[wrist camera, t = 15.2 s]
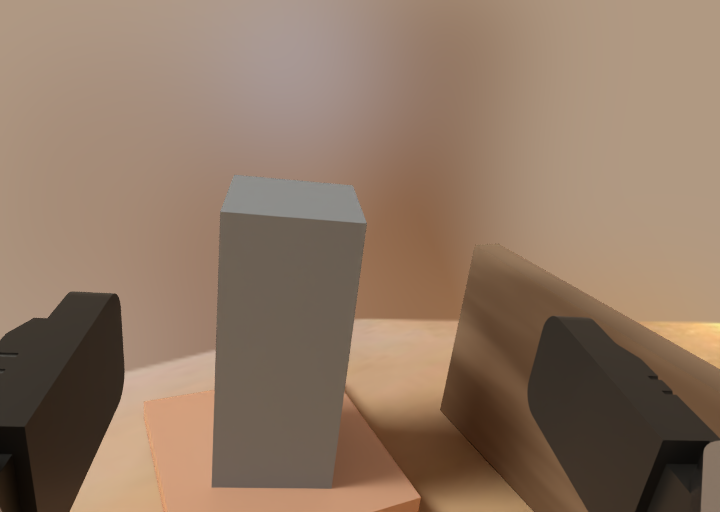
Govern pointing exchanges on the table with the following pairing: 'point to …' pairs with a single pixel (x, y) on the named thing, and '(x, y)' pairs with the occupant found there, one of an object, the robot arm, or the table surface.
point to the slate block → (283, 330)
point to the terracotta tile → (268, 505)
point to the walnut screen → (515, 361)
